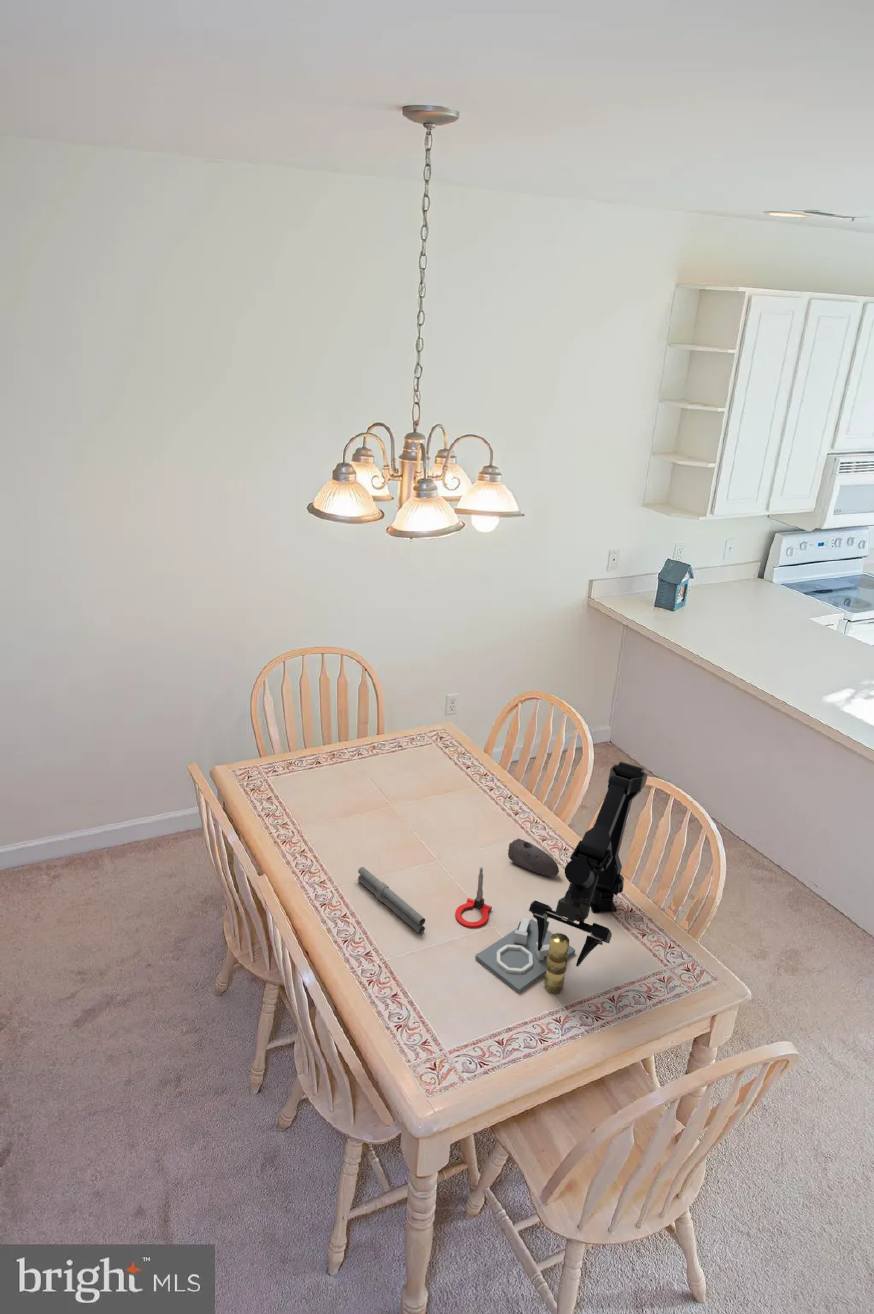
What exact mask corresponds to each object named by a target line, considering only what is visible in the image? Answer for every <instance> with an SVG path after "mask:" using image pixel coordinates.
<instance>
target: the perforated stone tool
mask: <svg viewBox="0 0 874 1314" xmlns="http://www.w3.org/2000/svg"><path fill="white" fill-rule="evenodd" d="M507 851H508V852H507V856H508V859H509V860H510V861H511V862H513V863H514V864H516V865H518V866H520V867H521V868H523V869H526V870H528V871H531V872H534V873H536V874H540V875H543V876H547V877H555V876H557V875H558V874H559V872H560V869H559V864H557V862H556V860H555V859H554V858H553V857H552V856H551V855H549V854H548V853H547V852H545V851H544V850H543V849H541V848H539V847H538V846H537V845H534V844H533V843H531V842H528V841H525V840H524V839H521V838H516V839H514V840H513V841H511V842H510V843H509V845H508V850H507Z"/></svg>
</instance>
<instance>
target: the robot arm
mask: <svg viewBox="0 0 874 1314" xmlns="http://www.w3.org/2000/svg"><path fill="white" fill-rule="evenodd" d="M608 775H609V776H608V780H607V783H608V784H607V792H606V794H605V796H604V798H603V802H602V804H601V807H600V809H599V812H598V814H597V817H596V819H595V821H594V825H593V827H592V828H590V829H589V830H587V831H585V833H584V834H583V835H584V836H583V837H582V839H581V840H579V841H578V843H577V845H576V847H575V848H574V850H573V852H572V854H571V856H570V859H569V860H570V861H568V863H567V864H565V867H564V875H565V878H566V880H567V881H568V882H569V885H568V888H567V890H566V892H565V894H564V897H562V898H560V899H558V900H557V905H556V909H555V910H553V907H551V906H550V905H548V904H546V903H543V902H541V901H538V900H533V901H532V902H530V906H529V907H528V912H530V913H531V914H533V915H532V918H534V919H535V920H536V922H537V924H538V951H540V950H541V948H542V946H543V943H544V939H545V936H546V933H547V930H548V929H549V925H550V921H548V919H549V918H550V919H553V920H555V921H558V922H560V923H563V924H565V925H568V926H570V927H571V928H575V929H579V930H580V931H583V932H586V933H588V934H589V935H586V938H585V941H584V944H583V947H582V948H581V951H580V953H579V955H578V958H577V961H576V964H575V966H576V967H579V966H581V964H582V962H583V961H584V960H585V959H586V958H587V956H588V955H589V954H590V953H591V952H592V951H593V950H594V949H595V948H596V947H597V946H598V945H601V946H603V944H604V943H606V944H610V942H611V939H612V935H613V933H612V931H611V930H610V929H609V928H608V927H606V926H603V925H601V924H599V923H596V922H593V923H592V925H591V924H590V923H587V922H585V921H586V919H588V917H589V915H590V914H589V913H590V910H591V912H592V913H594V914H596V913H597V914H599V913H614V912H617V911H618V908H617V906H616V905H615V902H614V898H615V896H618V894H620V893H623V891H624V880H625V878H624V876H623V875H622V874H621V872H622V868H623V866H622V862H621V860H620V859H621V858H620V855H619V854H620V849H621V845H622V842H623V837H624V834H625V831H626V830H625V829H626V826H627V822H628V818H629V814H630V810H631V805H632V803H633V800H634V799H635V798H636V797H637V796H638V795H639V794H640V793H641V792H642V789H644V787H645V785H646V783H647V779H648V773H646V772H645V768H644V767H641V766H638V765H634V764H630V763H626V762H624V761H619V763H618V764H613V766H611V768H610V770H609V774H608ZM575 921H576V922H575ZM577 922H578V923H577Z"/></svg>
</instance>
